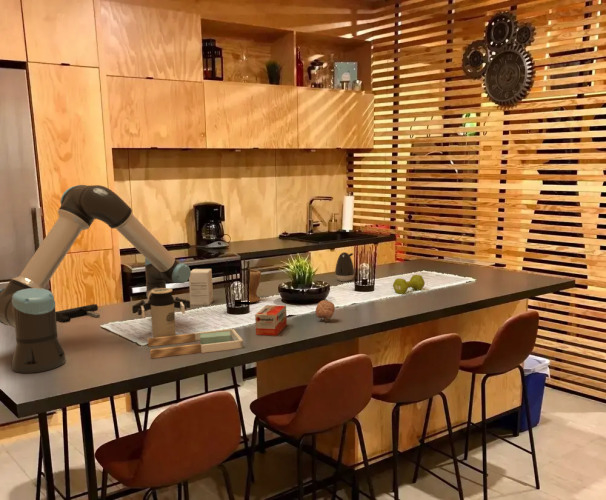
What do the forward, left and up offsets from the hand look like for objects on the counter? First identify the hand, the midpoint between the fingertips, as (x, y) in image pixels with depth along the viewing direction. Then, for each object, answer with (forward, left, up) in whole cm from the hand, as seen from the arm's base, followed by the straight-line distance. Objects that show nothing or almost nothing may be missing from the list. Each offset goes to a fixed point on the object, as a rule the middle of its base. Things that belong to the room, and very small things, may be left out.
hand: (163, 311), depth 195 cm
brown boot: (+62, +22, -11) cm, 67 cm away
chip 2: (+10, -19, -11) cm, 24 cm away
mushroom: (+54, -29, -11) cm, 63 cm away
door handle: (+2, +60, -12) cm, 61 cm away
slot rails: (-3, -8, -11) cm, 14 cm away
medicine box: (+33, -20, -11) cm, 40 cm away
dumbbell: (+120, -30, -11) cm, 124 cm away
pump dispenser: (+126, +12, -11) cm, 127 cm away
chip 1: (+6, -16, -11) cm, 20 cm away
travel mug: (+2, +3, -11) cm, 12 cm away
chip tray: (+9, -16, -11) cm, 22 cm away
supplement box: (+48, +37, -11) cm, 61 cm away
